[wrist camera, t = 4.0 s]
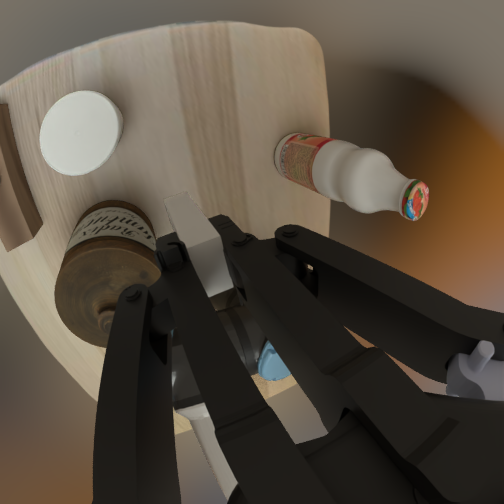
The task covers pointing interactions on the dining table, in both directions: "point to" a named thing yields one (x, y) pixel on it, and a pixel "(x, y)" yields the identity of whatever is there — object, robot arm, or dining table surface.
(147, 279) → the wooden container
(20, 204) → the bench stop
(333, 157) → the fruit juice
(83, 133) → the supplement tub
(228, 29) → the dining table surface
